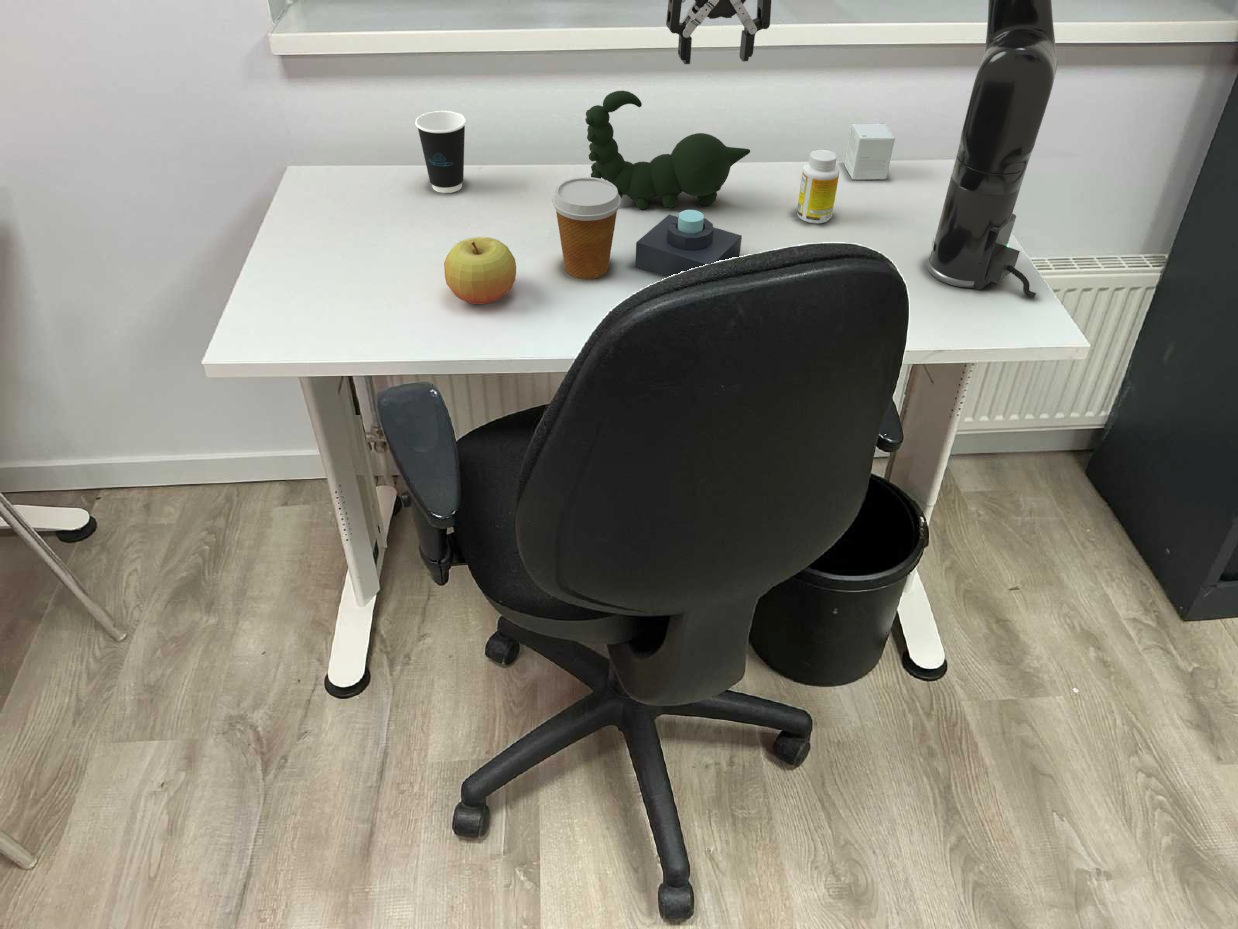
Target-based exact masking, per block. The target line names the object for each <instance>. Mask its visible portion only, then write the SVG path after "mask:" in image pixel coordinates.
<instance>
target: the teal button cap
mask: <svg viewBox="0 0 1238 929" xmlns="http://www.w3.org/2000/svg"><path fill="white" fill-rule="evenodd" d="M677 217H678V230H679V231H681V232H685V233H699V232H702V230H703V222H704V218H705V215H704V213H703V212H701V211H699V210H697V209H685V210H682V211H680V212H678V216H677Z"/></svg>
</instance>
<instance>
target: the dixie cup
mask: <svg viewBox="0 0 1238 929" xmlns="http://www.w3.org/2000/svg"><path fill="white" fill-rule="evenodd" d="M466 124H467V118H466V116H464V115H463V114H461V113H460V112H456V111H451V110H434V111H429V112H424V113H423V114H421V115H419V116H418V117H417V118H416V119H415V121H414V125H415V126H416V128H417V130H418V136H419V139H420V144H421V149H422V152H423V157H424V162H425V166H426V171H427V175H428V179H429V183H430V184H431V186H432V189H433V190H434V191H435V192H436V193H441V194H451V193H455V192H457V191H460V190H461V189H462V187H463V182H464V176H465V175H464V174H465V137H466V136H465V134H466V130H465V129H466Z"/></svg>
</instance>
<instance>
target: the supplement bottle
mask: <svg viewBox="0 0 1238 929" xmlns="http://www.w3.org/2000/svg"><path fill="white" fill-rule="evenodd" d="M808 160H809V161H808V162H807V163H805V164H804V165H803V167H802V171H801V172H802V173H801V178H800V187H799V193H798V199H797V207H796V214H797V217H798V218H799V219H800V220H802V221H804V222H806V223H809V224H823V223H824V224H825V223H827V222H829V221H830V220H831V219H832V217H833V212H834V208H835V201H836V195H837V194H836V193H837V189H838V183H839V179H840V178H839V177H840V168H839V166H837V160H838V155H837V154H836V153H835V152H834V151H832V150H829V149H815V150H813V151H811V152H810V155H809V159H808Z"/></svg>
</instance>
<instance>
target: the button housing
mask: <svg viewBox="0 0 1238 929" xmlns="http://www.w3.org/2000/svg"><path fill="white" fill-rule="evenodd" d="M742 240H743V235H742V234H738V233H734V232H731V231H728V230H725V229H721V228H718V227H714V223H712V222H711V221H710V220H708V219H707V218H705V217H704V222H703V230H702V232H699V233H685V232H681V231H679V230H678V216H676V215H673V214H670V213H669V214H668V215H667V216H665V217H664V218H663V219H662V220H660V221H659V222H658V223H657V224H656V225H655V226H653V228H650V230H649V231H648V232H646V233H645V234H644V235H643V236H642V237H641V238H639V240H638V239H637V241H636V242H635V265H634V266H635V267H636V268H638V269H642V270H646V271H648V272H650V273H654V274H658V275H661V276H664V277H667V278H669V277H668V276H671V275H673V274H678V273H680V272H681V271H687V270H689V269H691V268H695V267H699V266H703V265H705V264H711V263H714V262H716V261H719V260H725V259H729V258H732V257H739V256H740V257H741V248H742ZM740 257H739V258H740Z"/></svg>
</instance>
